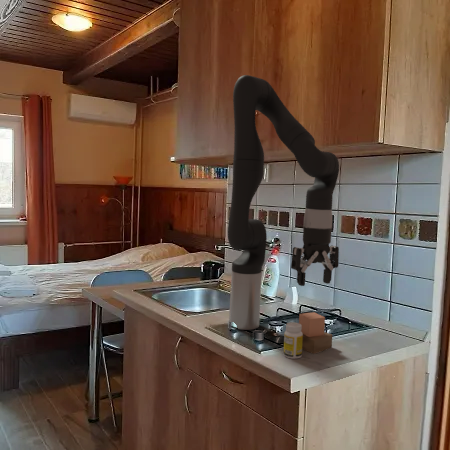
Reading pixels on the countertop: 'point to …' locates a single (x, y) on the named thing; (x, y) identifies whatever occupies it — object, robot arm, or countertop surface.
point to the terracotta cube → (312, 324)
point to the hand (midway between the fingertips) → (313, 284)
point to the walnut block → (317, 343)
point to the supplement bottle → (293, 340)
